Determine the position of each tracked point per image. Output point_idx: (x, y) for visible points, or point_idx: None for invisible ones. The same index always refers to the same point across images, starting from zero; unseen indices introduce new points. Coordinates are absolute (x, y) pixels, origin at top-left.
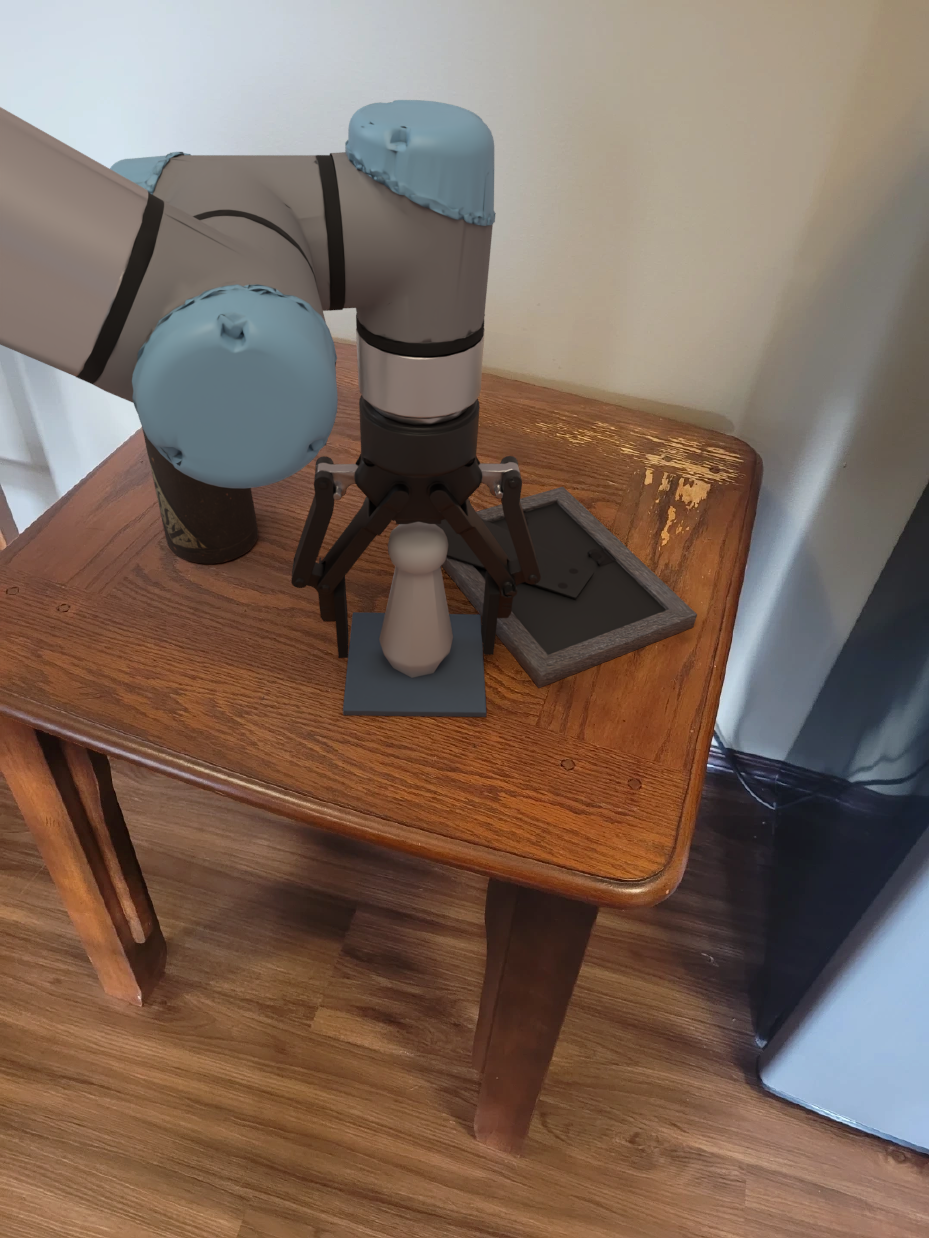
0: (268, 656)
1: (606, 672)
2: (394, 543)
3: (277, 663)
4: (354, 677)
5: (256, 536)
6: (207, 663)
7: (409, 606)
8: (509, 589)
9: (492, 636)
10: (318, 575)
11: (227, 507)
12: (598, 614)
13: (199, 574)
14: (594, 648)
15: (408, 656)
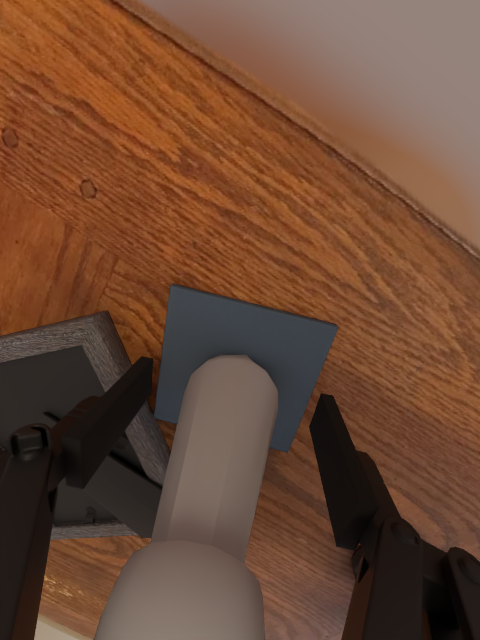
0: (392, 420)
1: (31, 314)
2: None
3: (385, 409)
4: (311, 370)
5: (358, 557)
6: (461, 427)
7: (236, 450)
8: (27, 442)
9: (128, 374)
10: (424, 575)
11: (421, 635)
12: (23, 387)
13: (425, 529)
14: (26, 341)
15: (249, 372)
